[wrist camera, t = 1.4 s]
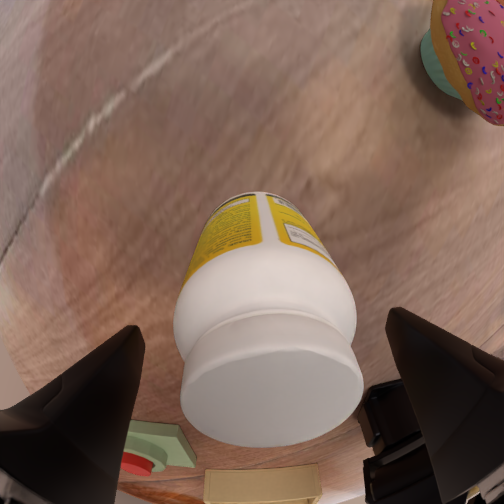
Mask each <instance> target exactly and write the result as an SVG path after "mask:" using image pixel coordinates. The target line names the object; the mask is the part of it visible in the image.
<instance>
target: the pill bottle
mask: <svg viewBox="0 0 504 504" xmlns="http://www.w3.org/2000/svg"><path fill="white" fill-rule="evenodd" d="M356 322H357V313H356V306H355V302H354V299H353V295H352V293H351V290H350V288H349V286H348V284H347V282H346V280H345V279H344V277H343V275H342V274H341V272H340V270H339V269H338V268H337V266H336V264H335V263H334V261H333V260H332V258H331V257H330V255H329V253H328V252H327V250H326V249H325V247H324V246H323V244H322V243H321V241H320V239H319V238H318V236H317V235H316V234H315V232H314V231H313V229H312V227H311V226H310V224H309V223H308V221H307V220H306V218H305V217H304V216H303V215H302V213H301V212H300V211H299V210H298V209H297V208H296V207H295V206H294V205H293V204H292V203H291V202H289V201H288V200H286V199H284V198H282V197H280V196H277V195H275V194H271V193H267V192H247V193H243V194H239V195H236V196H234V197H231V198H230V199H228V200H226V201H225V202H223V203H222V204H221V205H219V206H218V207H217V208H216V209H215V210H214V212H213V213H212V214H211V216H210V217H209V219H208V220H207V222H206V224H205V226H204V229H203V231H202V233H201V236H200V239H199V241H198V244H197V247H196V249H195V252H194V254H193V257H192V259H191V262H190V265H189V268H188V270H187V273H186V276H185V279H184V282H183V284H182V287H181V290H180V293H179V295H178V299H177V302H176V306H175V312H174V320H173V330H174V338H175V342H176V345H177V348H178V351H179V353H180V355H181V357H182V359H183V360H184V362H185V365H184V371H183V379H182V385H181V392H180V404H181V408H182V411H183V413H184V415H185V417H186V418H187V420H188V421H189V422H190V423H191V424H192V425H193V426H194V427H195V428H196V429H197V430H198V431H200V432H201V433H203V434H205V435H206V436H209V437H211V438H213V439H215V440H218V441H221V442H224V443H227V444H231V445H237V446H243V447H253V448H271V447H281V446H288V445H293V444H298V443H301V442H305V441H308V440H311V439H314V438H316V437H319V436H321V435H323V434H325V433H327V432H329V431H331V430H333V429H334V428H336V427H337V426H339V425H340V424H341V423H342V422H344V421H345V420H346V419H347V418H348V417H349V416H350V415H351V414H352V413H353V412H354V410H355V409H356V407H357V406H358V404H359V402H360V400H361V398H362V394H363V388H364V383H363V377H362V373H361V371H360V368H359V366H358V363H357V360H356V357H355V355H354V353H353V350H352V348H351V344H352V341H353V338H354V335H355V330H356Z"/></svg>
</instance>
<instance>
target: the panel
mask: <svg viewBox="0 0 504 504" xmlns="http://www.w3.org/2000/svg"><path fill="white" fill-rule="evenodd" d="M124 452H128V453H133V454H136V455H138V456H141V457H144V458H146V459H148V460H150V461H152V462H153V466H152V472H159V471H163V470H164V469H165V468H166V465H173V466H183V467H196V458H197V457H196V455H195V454H194V452H193V450H192V448H191V447H190V445H189V443H188V441H187V439H186V438H185V436H184V434H183V432H182V430H181V428H180V426H179V425H174V424H162V423H152V422H144V421H136V420H131V421H130V425H129V429H128V434H127V438H126V443H125V447H124Z"/></svg>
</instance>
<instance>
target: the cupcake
mask: <svg viewBox="0 0 504 504" xmlns="http://www.w3.org/2000/svg"><path fill="white" fill-rule="evenodd" d="M420 51H421V58H422V62H423V65H424V67H425V69H426V71H427V73H428V75H429V77H430V78H431V80H432V81H433V82H434V84H435V85H436V86H437V87H438V88H439V89H440V90H442V91H443V92H444V93H446V94H448V95H450V96H453V97H455V98H458V99H460V100H462V101H463V102H464V103H465V105H466V106H467V107H468V108H469V109H471V110H472V111H474V112H475V113H477V114H478V115H480V116H481V117H482V118H483V119H485V120H486V121H488V122H489V123H491V124H493V125H497V126H504V7H503V6H502V5H501V4H500V3H499V2H498V1H495V0H433V5H432V11H431V22H430V29H429V31H428V32H427V33H426V34H425V35H424V37H423V39H422V41H421V48H420Z"/></svg>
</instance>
